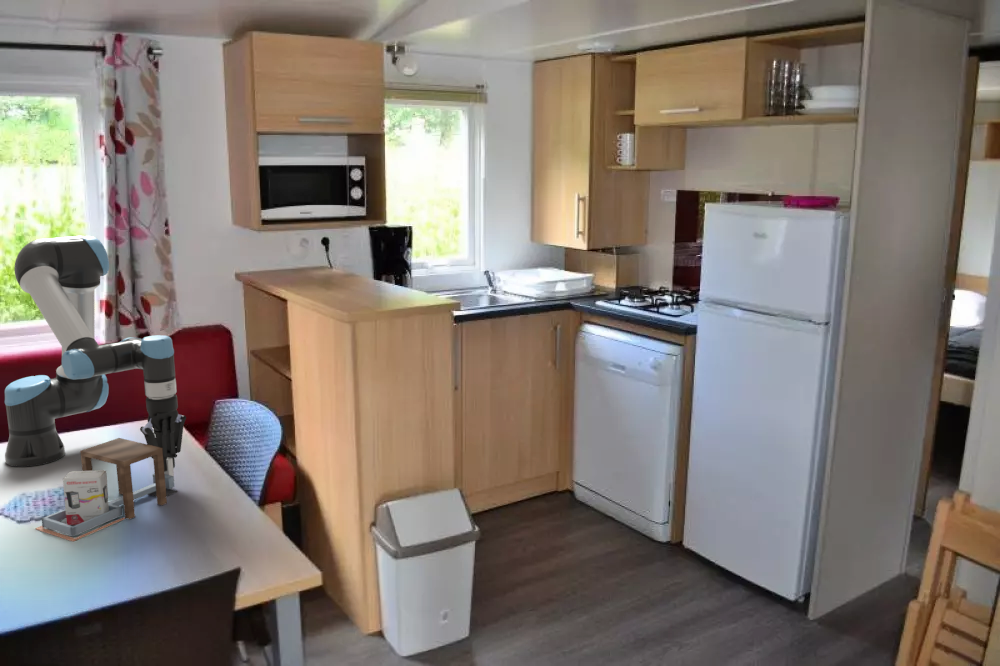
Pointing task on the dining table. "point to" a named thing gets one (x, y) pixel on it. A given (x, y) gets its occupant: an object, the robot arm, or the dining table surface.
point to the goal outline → (76, 537)
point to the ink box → (85, 495)
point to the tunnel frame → (127, 466)
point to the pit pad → (168, 492)
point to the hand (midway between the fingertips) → (168, 481)
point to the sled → (113, 513)
